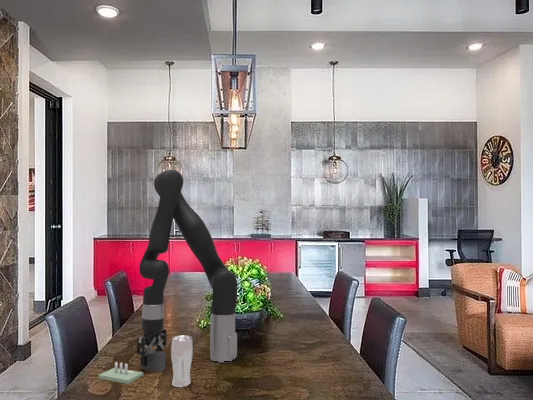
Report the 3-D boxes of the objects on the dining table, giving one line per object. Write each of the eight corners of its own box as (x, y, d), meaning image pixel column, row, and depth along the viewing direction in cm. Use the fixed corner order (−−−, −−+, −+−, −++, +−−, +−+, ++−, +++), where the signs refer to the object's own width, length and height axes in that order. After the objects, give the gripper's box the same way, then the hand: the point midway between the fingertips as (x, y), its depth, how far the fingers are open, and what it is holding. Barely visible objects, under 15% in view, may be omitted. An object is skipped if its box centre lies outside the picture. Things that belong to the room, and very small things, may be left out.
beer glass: (193, 381, 162) (194, 335, 162) (191, 388, 155) (191, 340, 155) (172, 381, 162) (172, 335, 162) (168, 389, 155) (169, 340, 155)
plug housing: (165, 369, 173) (165, 351, 173) (159, 372, 170) (159, 354, 170) (146, 366, 176) (146, 349, 176) (140, 369, 173) (140, 352, 173)
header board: (143, 376, 166) (143, 361, 166) (128, 383, 159) (128, 369, 159) (114, 371, 171) (114, 357, 171) (98, 378, 163) (98, 364, 163)
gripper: (149, 321, 166) (148, 370, 165) (173, 313, 179) (172, 358, 179) (131, 319, 169) (129, 367, 168) (156, 311, 182) (154, 355, 181)
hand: (151, 362), depth 173 cm, fingers open, 8 cm apart
